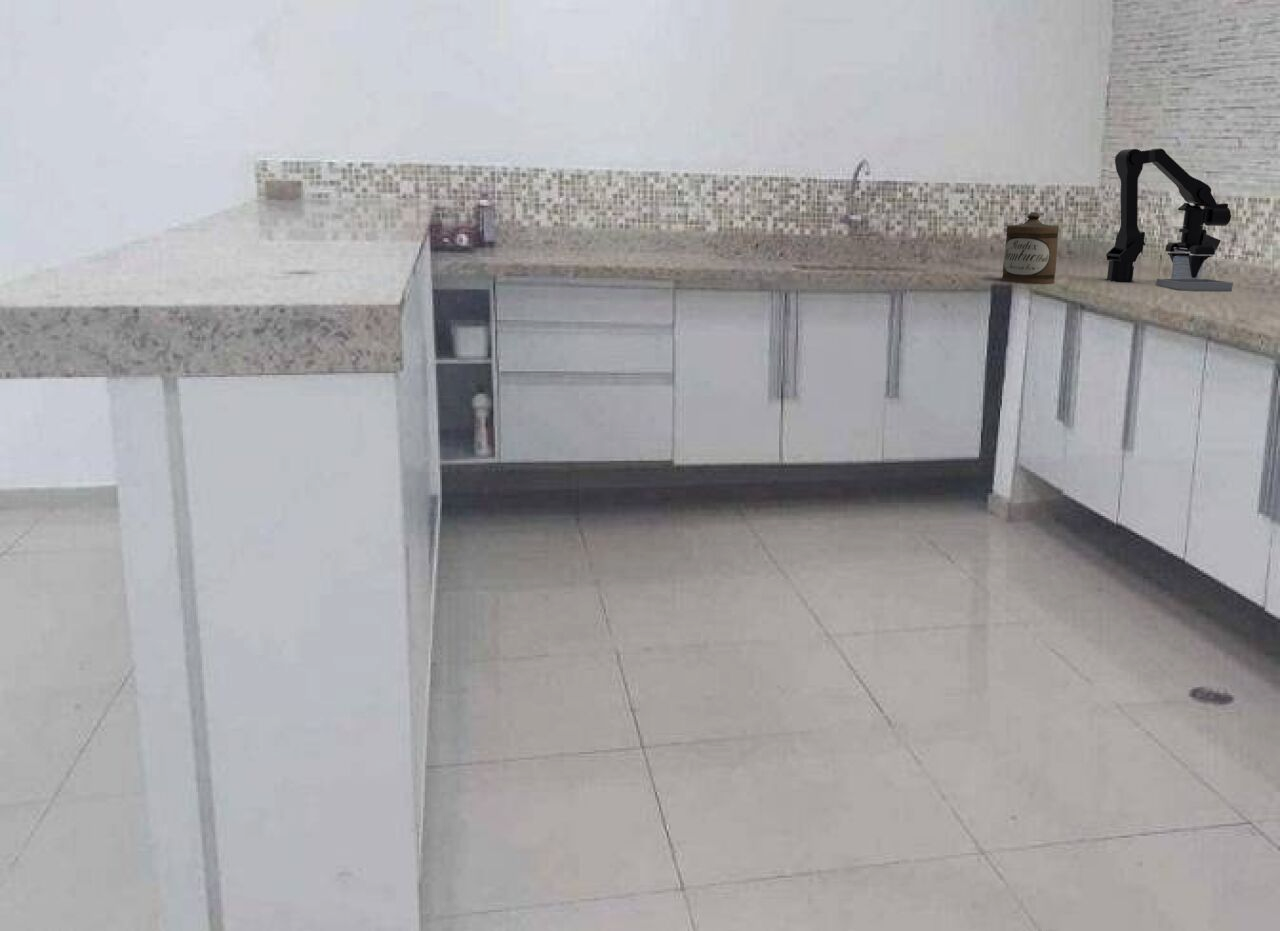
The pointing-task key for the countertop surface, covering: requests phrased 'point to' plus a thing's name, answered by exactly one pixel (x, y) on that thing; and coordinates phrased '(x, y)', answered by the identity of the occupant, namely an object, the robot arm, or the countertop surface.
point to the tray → (1195, 284)
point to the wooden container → (1031, 252)
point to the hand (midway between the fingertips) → (1186, 276)
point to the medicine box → (1183, 268)
